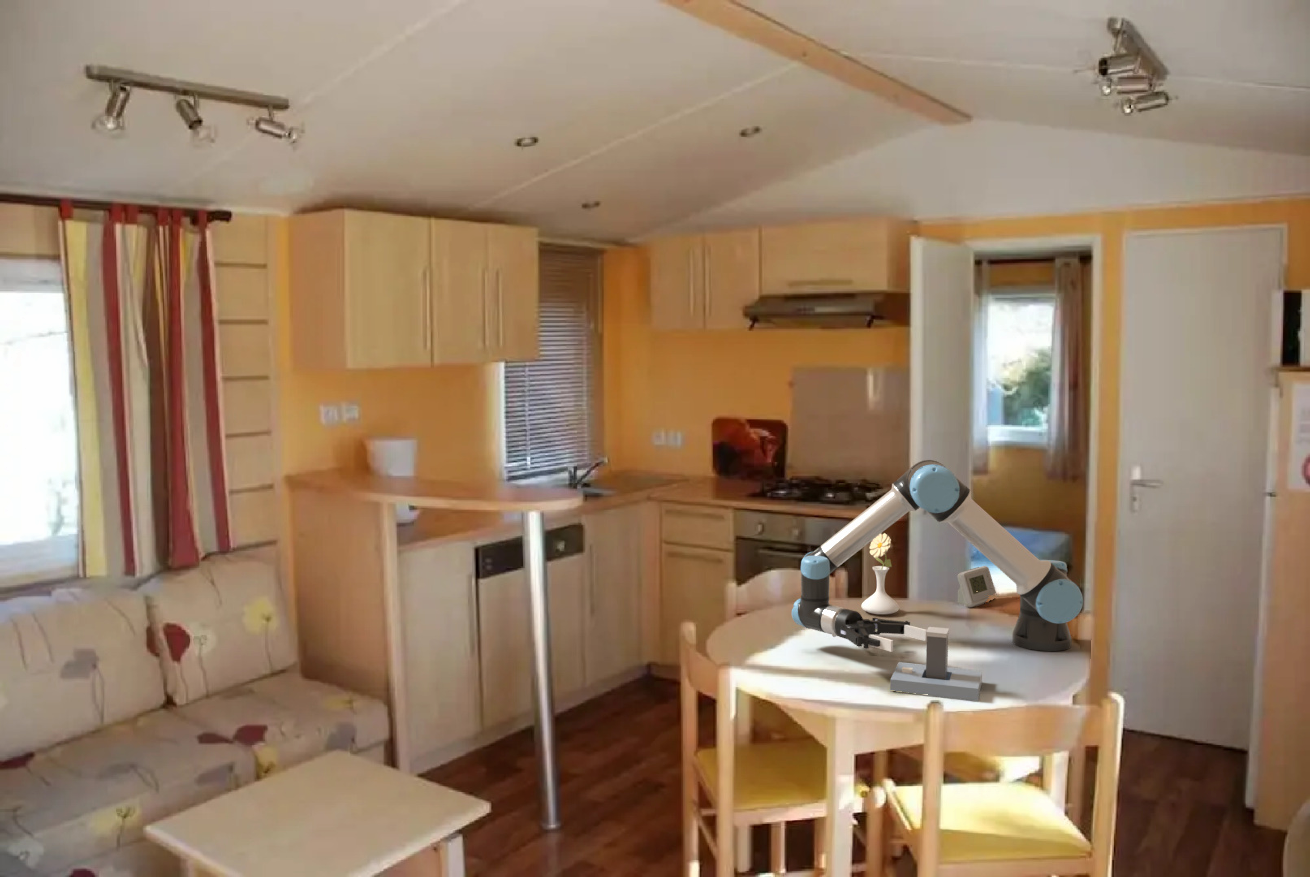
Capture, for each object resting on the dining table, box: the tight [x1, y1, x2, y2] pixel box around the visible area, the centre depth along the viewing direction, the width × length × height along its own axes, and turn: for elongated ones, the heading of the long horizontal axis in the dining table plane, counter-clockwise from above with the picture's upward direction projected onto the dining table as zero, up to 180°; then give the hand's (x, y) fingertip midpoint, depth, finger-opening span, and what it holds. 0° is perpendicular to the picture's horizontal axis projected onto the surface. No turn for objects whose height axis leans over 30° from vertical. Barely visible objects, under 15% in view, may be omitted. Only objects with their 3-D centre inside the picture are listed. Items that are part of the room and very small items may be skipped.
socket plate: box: [889, 661, 983, 702], centre depth 257 cm, size 20×14×4 cm
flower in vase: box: [860, 532, 900, 615], centre depth 323 cm, size 13×11×25 cm
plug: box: [925, 626, 950, 680], centre depth 257 cm, size 5×5×14 cm
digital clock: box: [956, 565, 997, 608], centre depth 335 cm, size 16×9×11 cm, turn 121°
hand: (909, 640), depth 262 cm, fingers open, 13 cm apart
